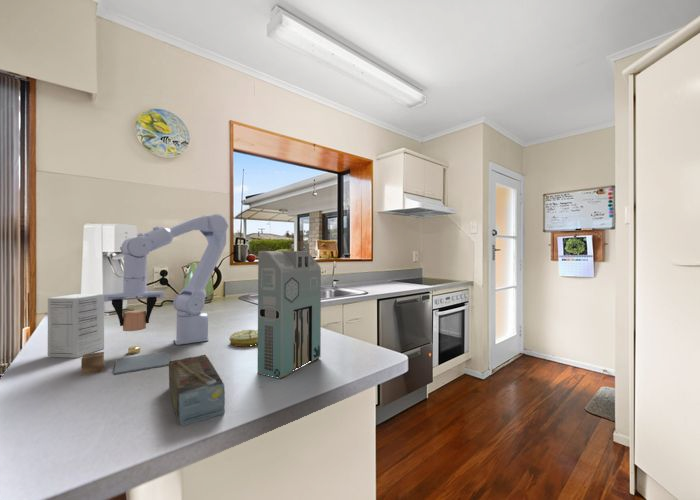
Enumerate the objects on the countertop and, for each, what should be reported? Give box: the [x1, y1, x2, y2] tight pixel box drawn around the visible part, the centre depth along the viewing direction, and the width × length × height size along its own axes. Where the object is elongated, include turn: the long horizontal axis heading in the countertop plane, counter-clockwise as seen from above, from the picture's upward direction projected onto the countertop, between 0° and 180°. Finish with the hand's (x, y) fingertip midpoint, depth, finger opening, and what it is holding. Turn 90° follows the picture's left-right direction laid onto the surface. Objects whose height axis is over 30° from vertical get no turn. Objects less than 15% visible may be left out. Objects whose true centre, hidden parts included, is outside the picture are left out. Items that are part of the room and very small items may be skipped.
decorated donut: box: [228, 329, 258, 347], centre depth 104 cm, size 10×11×4 cm
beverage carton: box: [168, 354, 226, 426], centre depth 64 cm, size 8×19×7 cm, turn 34°
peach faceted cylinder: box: [122, 309, 147, 332], centre depth 94 cm, size 6×6×5 cm
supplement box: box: [47, 293, 105, 359], centre depth 94 cm, size 10×9×17 cm
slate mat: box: [113, 351, 171, 376], centre depth 85 cm, size 12×12×1 cm
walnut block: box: [80, 351, 105, 376], centre depth 79 cm, size 4×4×4 cm
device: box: [257, 250, 322, 379], centre depth 83 cm, size 16×8×30 cm, turn 151°
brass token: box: [127, 345, 141, 355], centre depth 94 cm, size 3×3×2 cm
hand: (134, 323), depth 94 cm, fingers closed on peach faceted cylinder, 6 cm apart
